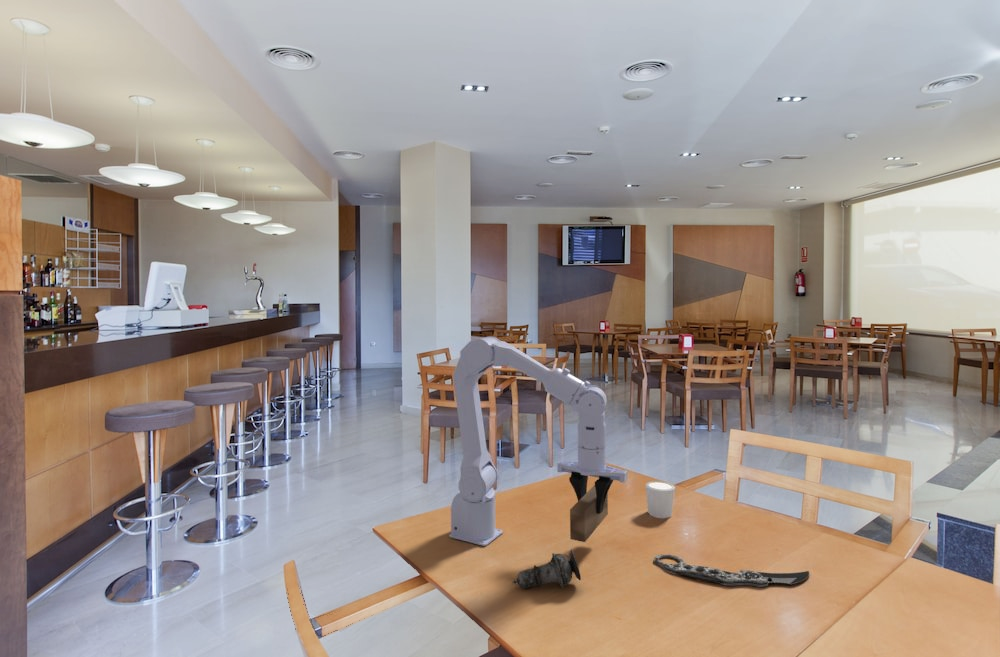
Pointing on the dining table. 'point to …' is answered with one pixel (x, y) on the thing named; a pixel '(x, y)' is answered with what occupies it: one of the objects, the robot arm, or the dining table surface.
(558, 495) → the dining table surface
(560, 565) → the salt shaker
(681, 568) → the knife
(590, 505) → the dark wooden brick
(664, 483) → the white cylinder
